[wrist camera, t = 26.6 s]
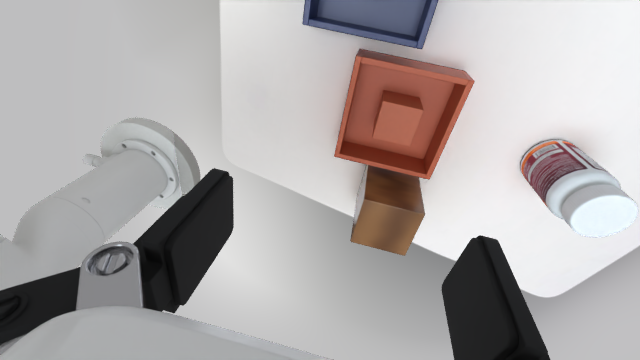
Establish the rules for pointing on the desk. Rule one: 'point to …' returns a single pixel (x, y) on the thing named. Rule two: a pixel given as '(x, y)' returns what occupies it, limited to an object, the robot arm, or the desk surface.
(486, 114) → the desk surface
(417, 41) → the navy bin
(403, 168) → the terracotta bin
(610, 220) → the pill bottle
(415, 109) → the terracotta block
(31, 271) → the robot arm
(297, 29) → the desk surface
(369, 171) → the block
